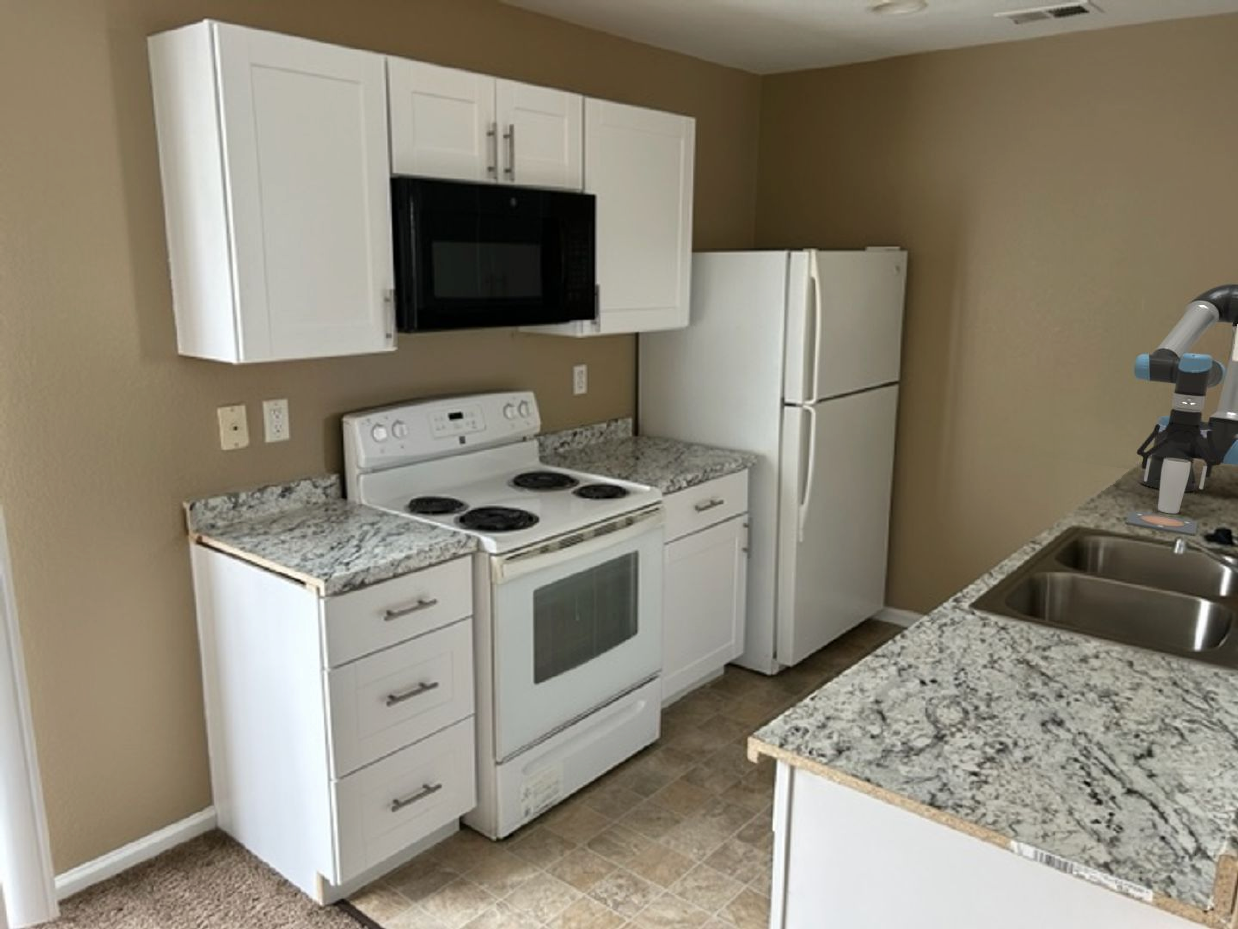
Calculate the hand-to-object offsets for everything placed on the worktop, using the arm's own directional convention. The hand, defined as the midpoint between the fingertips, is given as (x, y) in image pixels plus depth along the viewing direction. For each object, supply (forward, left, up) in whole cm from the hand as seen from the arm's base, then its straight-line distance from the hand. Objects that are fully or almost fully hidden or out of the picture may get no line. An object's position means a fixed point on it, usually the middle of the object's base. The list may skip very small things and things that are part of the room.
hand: (1172, 484), depth 261 cm
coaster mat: (+10, +14, -8) cm, 19 cm away
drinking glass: (0, 0, -8) cm, 8 cm away
